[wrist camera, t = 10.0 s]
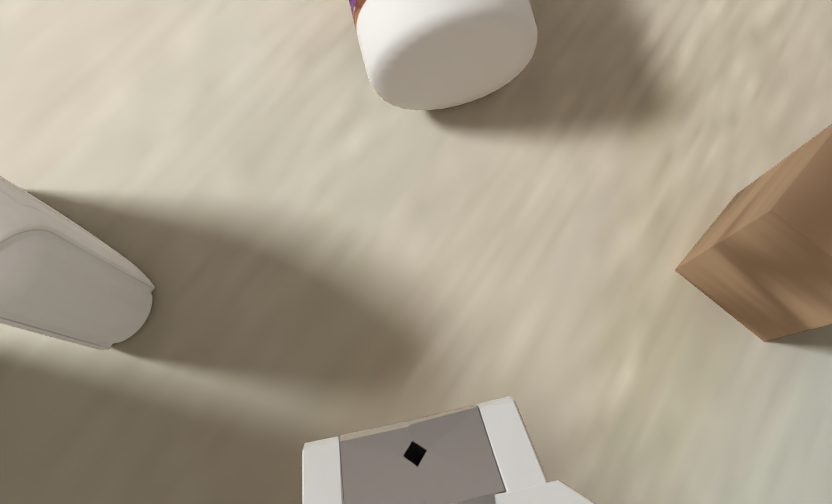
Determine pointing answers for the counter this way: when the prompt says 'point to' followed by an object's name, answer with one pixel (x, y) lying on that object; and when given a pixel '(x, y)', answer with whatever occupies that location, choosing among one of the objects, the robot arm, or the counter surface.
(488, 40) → the milk bottle
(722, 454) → the counter surface
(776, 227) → the walnut block
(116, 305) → the photo printer
